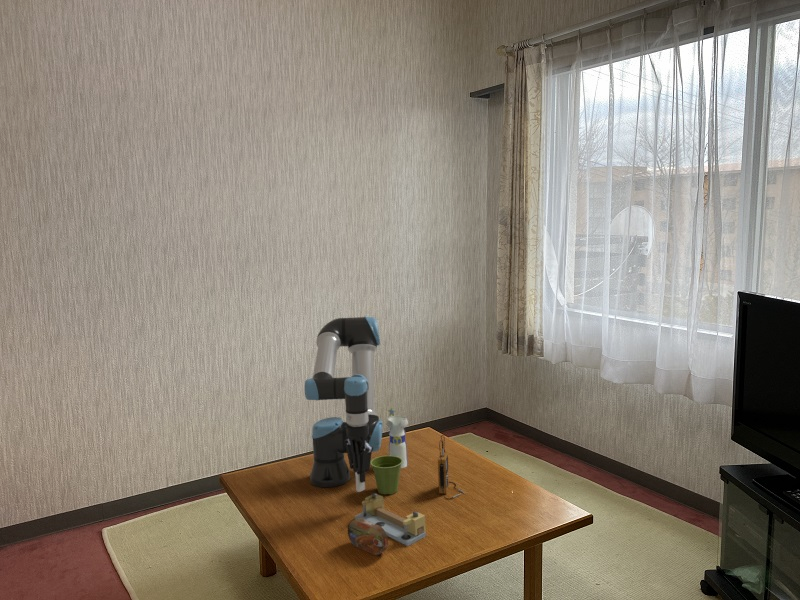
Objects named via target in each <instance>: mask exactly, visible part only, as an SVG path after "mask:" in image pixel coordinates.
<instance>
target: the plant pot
mask: <svg viewBox="0 0 800 600" xmlns="http://www.w3.org/2000/svg"><path fill="white" fill-rule="evenodd" d="M402 462H403V460H402V459H401V458H400V457H397V456H389V455H380V456H377V457H376V456H375V457H374V458H371V462H370V466H371V468H372V470H373V473H374V479H375V483H376V488H377V491H378V493H379V494H381V495H393V494H395V493H397V492H398V490H399V481H400V475H401V469H402V468H401V464H402Z"/></svg>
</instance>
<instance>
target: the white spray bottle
mask: <svg viewBox="0 0 800 600" xmlns="http://www.w3.org/2000/svg"><path fill="white" fill-rule="evenodd" d="M387 411H388V413H389V415H388V416H389V417H388V418H387V422H386V426H388V428H389V431H388V435H389V442H388V456H397V457H400V458H401V459H402V460H403V462H402V464H401V469H404V468H407V467H408V466H409V462H408V461H409V460H408V449H407V441H406V434H407V433H406V429H405V428H406V427H407V426H408V425H409V421H408V419H407V417H406V416H403V415H395V414H394V413H395V412H396V410H394V409H393V408H392V407H391V408H390V409H387Z"/></svg>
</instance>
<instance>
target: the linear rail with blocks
mask: <svg viewBox="0 0 800 600" xmlns="http://www.w3.org/2000/svg"><path fill="white" fill-rule="evenodd" d="M375 510H376V515H372V514H370V513H368V512H366V516H365V517H364V516H363V512H360V513H358V514H356V515H355V516H354V520H356V519H359V518H360V519H364V520H366V521H369V522H371V523H374V524H376V525H379V526H381V527H382V528H383V529H384V531H385V532H386V534H387V537H389V538H391V539H393V540H394V541H396V542H399V543H400V544H403V545H405V546H406V547H409V546H410V545H413V544H415V543H416V542H418V541H420V540H422V539H424V538H425V537H427V532H426V530H427V529H426V515H425V514H422V513H421V512H419V511H416V510H415V511H412V513H410V514H408V515H406V516H405V517H402V516H400V515H397V514H396V513H393V512H391V511H389V510H387V509H385V508H384V509H383V508H381V507H379V508H377V509H375Z"/></svg>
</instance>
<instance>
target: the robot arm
mask: <svg viewBox="0 0 800 600" xmlns="http://www.w3.org/2000/svg"><path fill="white" fill-rule="evenodd" d="M380 345H381V339H380V332H379V326H378V321H377V319H376V318H375V317H374V316H372V317H371V316H363V317H362V316H358V317H338V318H335V319H332V320H330V321H329V322H327V323H326V324H325V325H324V326H323V327H322V328H321V329H320V331H319V332H318V334H317V336H316V346H317V350H316V351H317V352H316V355H315V356H316V357H315V363H314V368H313V373H312V374H313V375H312V377H311V378H307V379H306V380H305V381H304V396H305V399H306V400H308V401H326V400H327V401H328V400H331V401H332V400H344V402H345V403H344V404H345V421H344V420H343V418H341V417H338V416H331V417H326V418H322V419H320V420H318V421H316V422H315V423H314V424H313V426H312V429H311V431H312V434H311V439H312V451H313V452H312V453H313V463H312V467H311V471H310V475H309V476H310V477H309V479H310V483H311V485H313V486H315V487H319V488H335V487H339V486H341V485H345V484H346V483H347V482H348V481H350V479H351V473H350V469H352V470H353V472H354V480H355V491H356V492H357V493H361V492H363V491H365V490H366V473H368V472H370V468H371V464H370V462H371V460H372V453H374V452H378V451H380V448H381V446H382V445H381V444H382V437H383V426H384V425H383V424H384V422H383V421H382V420H381V419H379V418H380V416H379V414H378V413H376V409H375V405H376V404H375V403H376V402H375V372H374V371H375V369H374V368H375V367H374V366H375V365H374V363H375V362H374V353H375V352H376V351H377V350H378V346H380ZM341 347H347V350H348V352H349V353H350V354H351V376H346V377H344V376H343V377H335V370H336V362H337V356H338V355H337V354H338V350H339V349H340V348H341ZM345 454H347V458H348V463H349V467H348V464H347V462H346V459H345ZM349 468H350V469H349Z"/></svg>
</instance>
